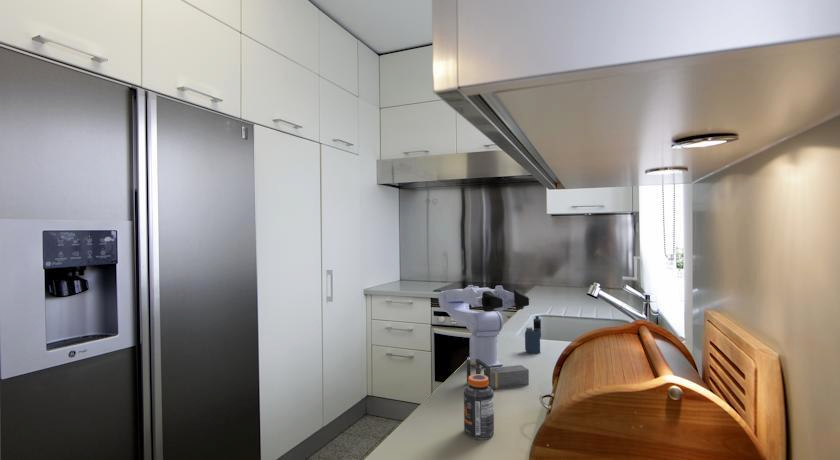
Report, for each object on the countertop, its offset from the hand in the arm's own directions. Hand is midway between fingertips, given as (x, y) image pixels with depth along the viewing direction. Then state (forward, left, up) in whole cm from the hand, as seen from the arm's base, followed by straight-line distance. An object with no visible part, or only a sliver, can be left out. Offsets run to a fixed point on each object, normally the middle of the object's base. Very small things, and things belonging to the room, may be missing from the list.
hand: (514, 302), depth 111 cm
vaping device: (-25, +20, -22) cm, 39 cm away
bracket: (-1, -9, -22) cm, 23 cm away
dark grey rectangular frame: (-1, -12, -22) cm, 25 cm away
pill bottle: (+22, -20, -22) cm, 37 cm away
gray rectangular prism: (-1, -2, -22) cm, 22 cm away
